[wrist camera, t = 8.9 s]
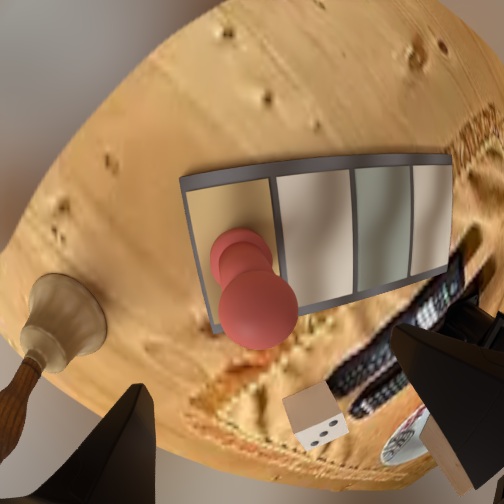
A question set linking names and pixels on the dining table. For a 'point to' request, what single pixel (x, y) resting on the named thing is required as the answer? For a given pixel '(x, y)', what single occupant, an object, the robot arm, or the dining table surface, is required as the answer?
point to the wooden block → (445, 456)
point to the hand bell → (49, 345)
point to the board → (329, 223)
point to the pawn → (251, 291)
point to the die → (315, 416)
